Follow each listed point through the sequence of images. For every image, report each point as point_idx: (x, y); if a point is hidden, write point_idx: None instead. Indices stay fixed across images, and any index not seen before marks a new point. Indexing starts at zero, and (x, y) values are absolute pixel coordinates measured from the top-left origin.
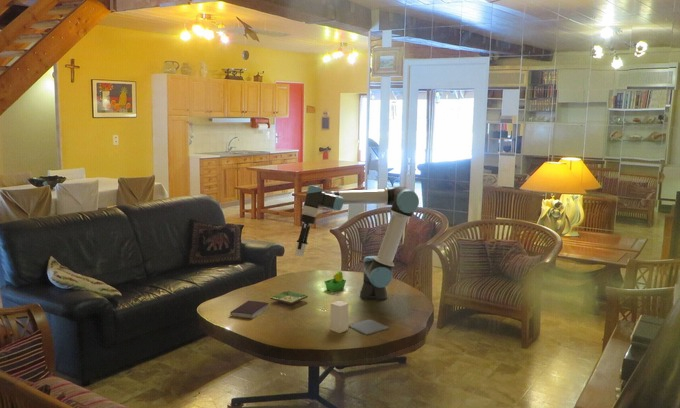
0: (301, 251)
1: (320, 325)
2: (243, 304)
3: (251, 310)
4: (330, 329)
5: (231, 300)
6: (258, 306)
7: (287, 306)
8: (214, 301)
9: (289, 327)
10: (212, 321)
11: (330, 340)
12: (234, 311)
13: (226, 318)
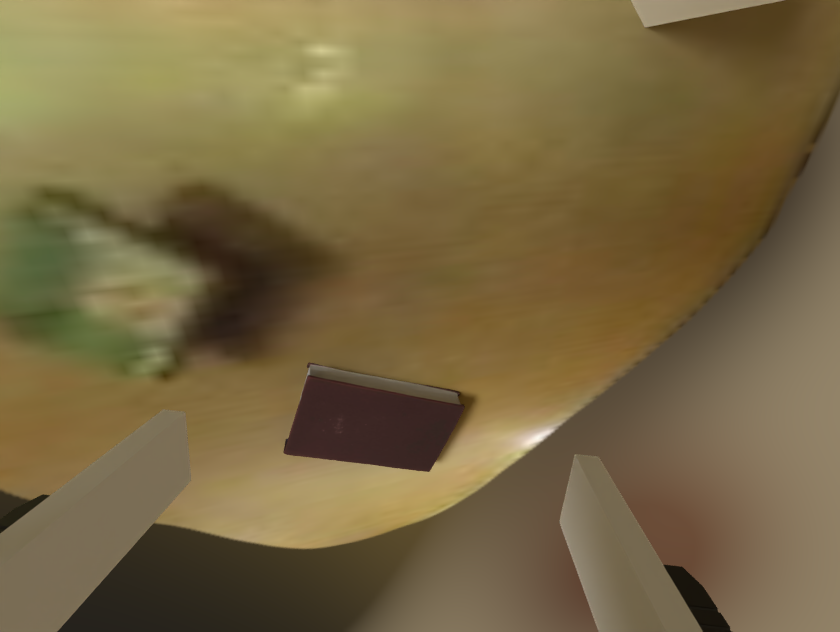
0: (625, 515)
1: (574, 89)
2: (341, 457)
3: (424, 417)
4: (646, 26)
5: (244, 500)
6: (369, 405)
7: (283, 286)
8: (269, 537)
9: (570, 245)
10: (473, 487)
11: (774, 33)
12: (428, 463)
13: (448, 463)
